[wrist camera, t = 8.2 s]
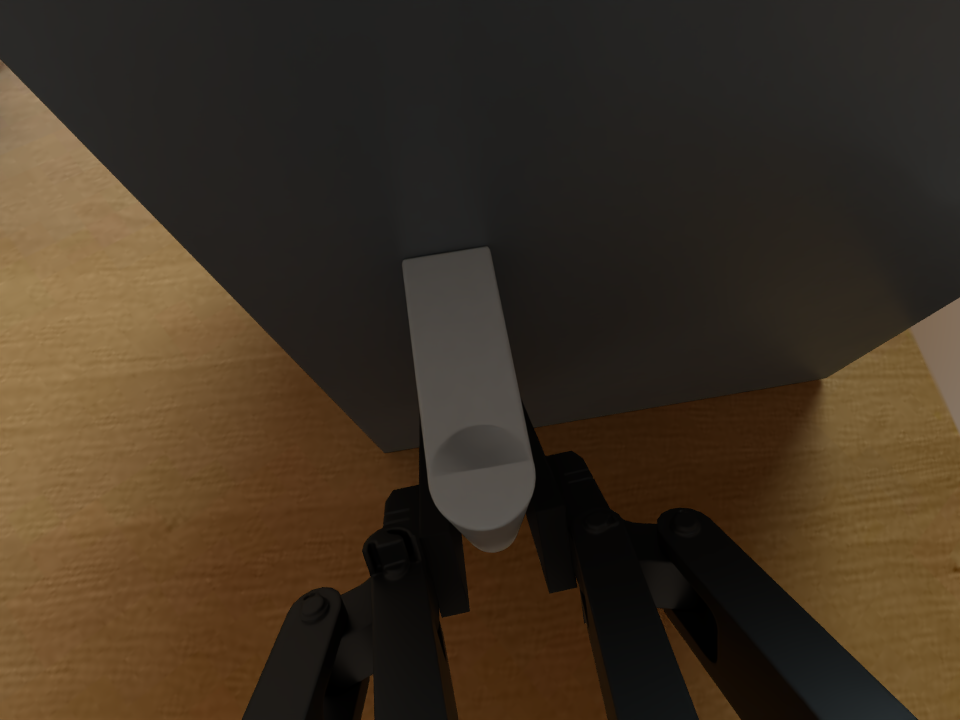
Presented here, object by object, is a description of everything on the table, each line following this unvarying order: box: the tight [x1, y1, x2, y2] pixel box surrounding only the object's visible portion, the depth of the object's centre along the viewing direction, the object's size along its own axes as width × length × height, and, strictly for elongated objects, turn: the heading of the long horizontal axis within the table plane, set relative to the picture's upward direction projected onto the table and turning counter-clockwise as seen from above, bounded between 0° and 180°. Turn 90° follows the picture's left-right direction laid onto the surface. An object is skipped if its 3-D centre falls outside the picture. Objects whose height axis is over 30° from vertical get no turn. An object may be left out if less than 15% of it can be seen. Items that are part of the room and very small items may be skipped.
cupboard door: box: [0, 0, 960, 553], centre depth 15 cm, size 7×24×24 cm, turn 99°
